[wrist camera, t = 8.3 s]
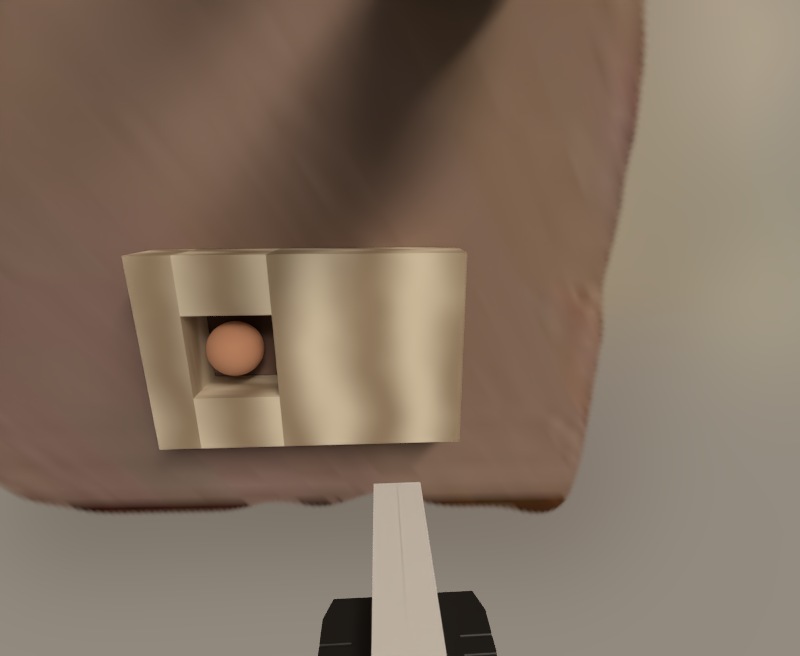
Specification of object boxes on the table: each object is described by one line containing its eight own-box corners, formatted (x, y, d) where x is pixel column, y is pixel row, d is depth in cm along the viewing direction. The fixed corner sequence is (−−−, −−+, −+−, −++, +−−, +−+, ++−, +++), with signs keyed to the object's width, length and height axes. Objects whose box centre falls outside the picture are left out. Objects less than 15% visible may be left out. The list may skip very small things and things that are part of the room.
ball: (204, 371, 31) (216, 389, 28) (196, 320, 30) (209, 333, 27) (257, 359, 33) (274, 375, 30) (252, 312, 32) (269, 323, 29)
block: (184, 421, 34) (159, 449, 30) (155, 249, 30) (121, 255, 26) (450, 415, 34) (459, 441, 31) (456, 247, 31) (467, 252, 27)
